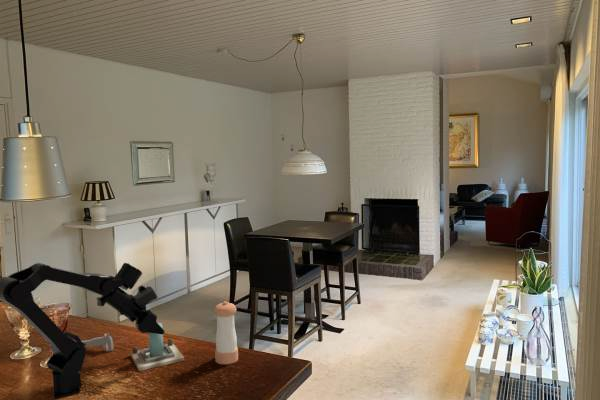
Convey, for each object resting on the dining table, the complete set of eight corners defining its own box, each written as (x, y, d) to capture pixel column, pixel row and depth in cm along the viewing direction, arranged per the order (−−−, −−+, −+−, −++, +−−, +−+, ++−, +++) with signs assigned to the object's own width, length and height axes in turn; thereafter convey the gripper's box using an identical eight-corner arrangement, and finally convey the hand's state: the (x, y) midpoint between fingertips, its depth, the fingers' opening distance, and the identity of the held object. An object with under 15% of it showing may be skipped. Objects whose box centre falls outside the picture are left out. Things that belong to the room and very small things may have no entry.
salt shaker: (222, 366, 145) (220, 307, 143) (211, 358, 151) (209, 301, 149) (242, 359, 150) (241, 301, 148) (230, 352, 155) (229, 296, 153)
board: (138, 371, 143) (138, 361, 142) (130, 355, 154) (130, 346, 154) (184, 360, 150) (183, 351, 149) (173, 345, 161) (172, 337, 161)
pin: (151, 359, 149) (149, 328, 148) (148, 353, 153) (146, 324, 151) (165, 355, 151) (163, 325, 150) (161, 350, 155) (160, 321, 154)
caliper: (113, 350, 158) (112, 333, 157) (111, 352, 157) (110, 334, 156) (60, 346, 162) (59, 329, 161) (58, 348, 161) (57, 330, 160)
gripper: (148, 288, 139) (185, 316, 146) (132, 274, 155) (167, 300, 162) (122, 319, 136) (161, 346, 143) (108, 301, 151) (145, 327, 158)
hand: (159, 328), depth 151 cm, fingers open, 9 cm apart
